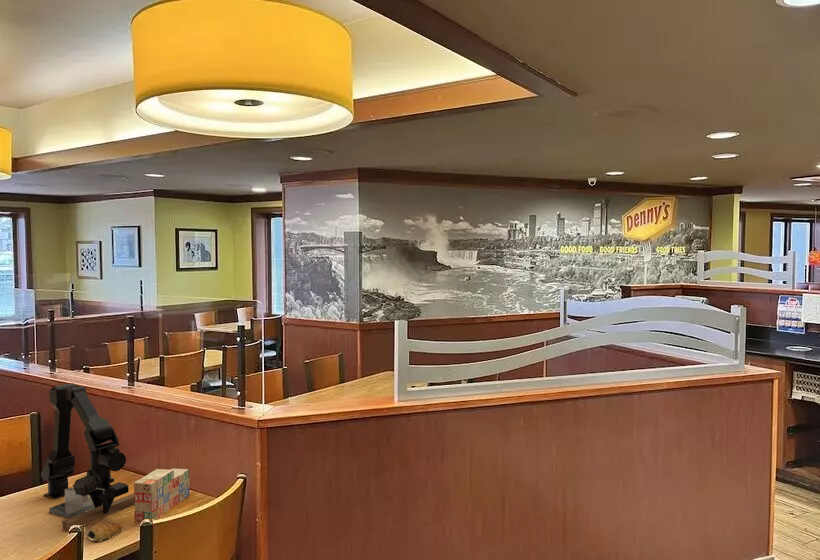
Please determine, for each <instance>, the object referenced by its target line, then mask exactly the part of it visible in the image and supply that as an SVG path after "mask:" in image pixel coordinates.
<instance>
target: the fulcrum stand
mask: <svg viewBox="0 0 820 560" xmlns="http://www.w3.org/2000/svg"><path fill="white" fill-rule="evenodd" d="M94 508H95V507H94V504H93V502H92V499H91V497H90V496H89V495H86V496H81V495H76V493H75V491H74V488H73V487H68V488H67V489H65V495H64V502H61V503H58V504H57V505H54V506H52V507H49V511H48V512H49V514H52V515H55V516H59V517H61V518H62V517H63V518H66V519H69V518H71V517H74V516H77V515H79V514H82V513H84V512H86V511H89V510H92V509H94Z"/></svg>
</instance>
